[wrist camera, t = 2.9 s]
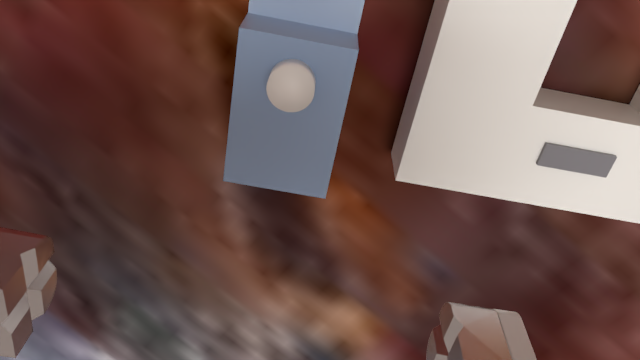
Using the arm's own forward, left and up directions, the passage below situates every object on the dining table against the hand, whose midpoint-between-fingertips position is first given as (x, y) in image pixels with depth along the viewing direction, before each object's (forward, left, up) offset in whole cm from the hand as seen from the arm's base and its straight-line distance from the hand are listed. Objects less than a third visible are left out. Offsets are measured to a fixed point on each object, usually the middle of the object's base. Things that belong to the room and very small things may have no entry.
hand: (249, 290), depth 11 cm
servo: (0, 0, -14) cm, 14 cm away
